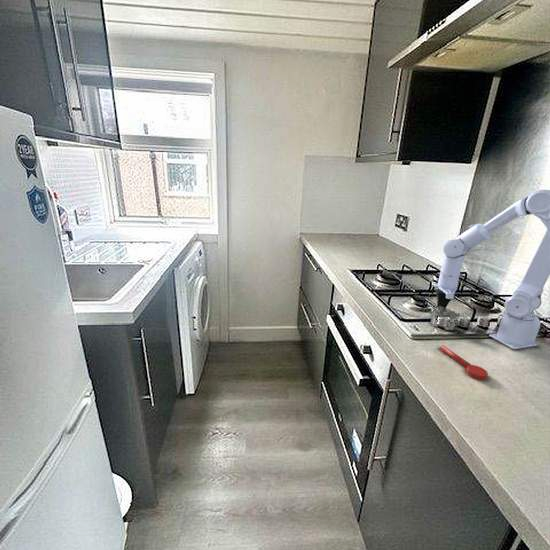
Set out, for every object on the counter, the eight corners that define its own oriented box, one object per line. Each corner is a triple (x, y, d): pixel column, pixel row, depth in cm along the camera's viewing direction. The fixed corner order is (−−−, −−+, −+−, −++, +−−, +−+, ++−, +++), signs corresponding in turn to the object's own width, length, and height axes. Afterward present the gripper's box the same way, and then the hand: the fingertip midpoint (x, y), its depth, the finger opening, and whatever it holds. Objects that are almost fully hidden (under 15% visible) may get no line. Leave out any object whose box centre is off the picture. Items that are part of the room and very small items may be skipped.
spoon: (446, 347, 86) (447, 343, 86) (491, 378, 73) (492, 373, 73) (433, 349, 85) (434, 345, 84) (476, 381, 72) (478, 376, 72)
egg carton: (451, 332, 95) (454, 320, 93) (426, 323, 100) (429, 312, 98) (460, 321, 102) (463, 310, 101) (437, 314, 107) (439, 303, 106)
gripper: (433, 266, 110) (425, 300, 114) (440, 278, 97) (431, 316, 101) (455, 269, 108) (446, 303, 112) (465, 282, 95) (454, 320, 99)
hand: (440, 310), depth 107 cm, fingers closed
